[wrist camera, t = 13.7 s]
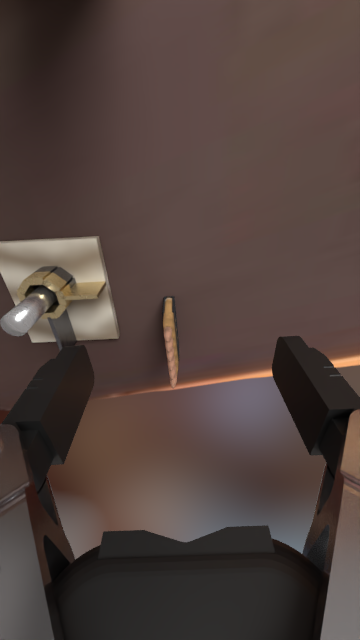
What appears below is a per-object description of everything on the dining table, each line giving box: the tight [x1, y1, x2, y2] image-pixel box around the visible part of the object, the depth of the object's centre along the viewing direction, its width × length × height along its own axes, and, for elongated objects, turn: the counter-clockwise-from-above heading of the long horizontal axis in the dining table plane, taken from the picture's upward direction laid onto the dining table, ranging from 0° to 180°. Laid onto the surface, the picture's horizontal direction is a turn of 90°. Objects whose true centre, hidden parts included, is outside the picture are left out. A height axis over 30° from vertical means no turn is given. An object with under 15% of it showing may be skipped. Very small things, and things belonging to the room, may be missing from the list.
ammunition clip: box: [162, 296, 179, 388], centre depth 40 cm, size 11×2×12 cm, turn 4°
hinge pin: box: [0, 285, 58, 336], centre depth 34 cm, size 3×3×12 cm
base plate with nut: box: [0, 236, 120, 351], centre depth 39 cm, size 18×16×6 cm
